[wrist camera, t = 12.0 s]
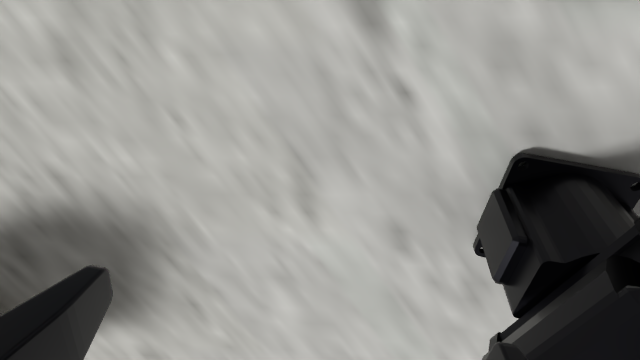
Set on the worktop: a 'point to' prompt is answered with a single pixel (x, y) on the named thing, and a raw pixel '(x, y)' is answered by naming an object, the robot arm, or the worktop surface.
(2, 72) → the worktop surface
